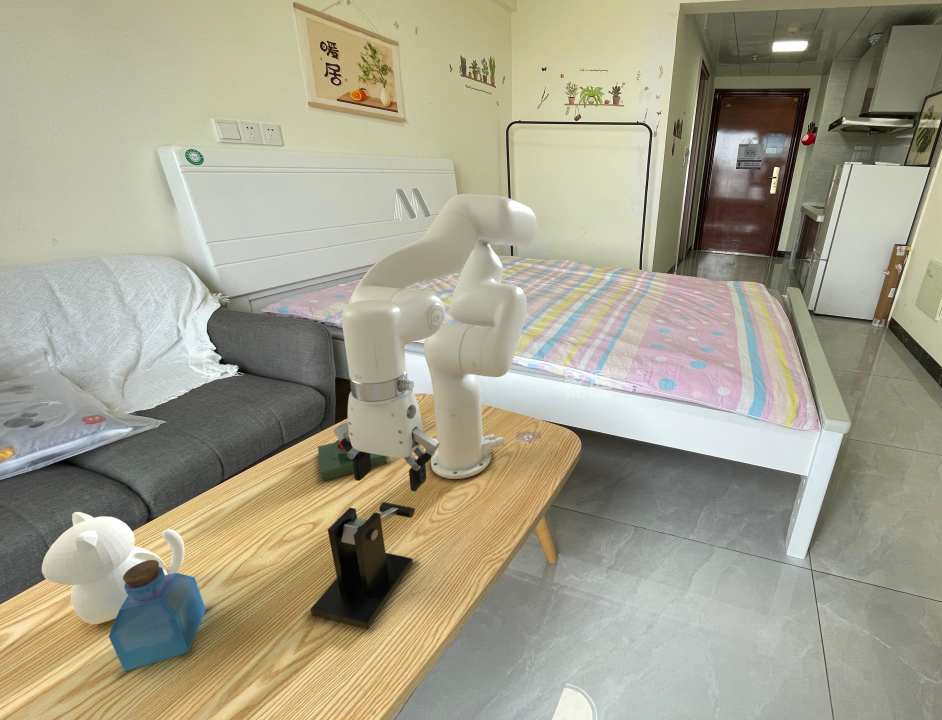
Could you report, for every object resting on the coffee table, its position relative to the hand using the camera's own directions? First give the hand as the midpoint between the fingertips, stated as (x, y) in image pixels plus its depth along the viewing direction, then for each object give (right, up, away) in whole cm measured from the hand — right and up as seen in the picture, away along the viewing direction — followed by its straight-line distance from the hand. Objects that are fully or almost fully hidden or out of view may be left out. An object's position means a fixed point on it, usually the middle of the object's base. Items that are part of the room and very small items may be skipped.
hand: (390, 480), depth 69 cm
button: (-19, -1, +23) cm, 30 cm away
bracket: (-2, -15, -4) cm, 16 cm away
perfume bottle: (-24, -17, -12) cm, 32 cm away
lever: (-1, -6, -3) cm, 7 cm away
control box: (-20, -4, +25) cm, 32 cm away
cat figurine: (-34, -15, -7) cm, 37 cm away
